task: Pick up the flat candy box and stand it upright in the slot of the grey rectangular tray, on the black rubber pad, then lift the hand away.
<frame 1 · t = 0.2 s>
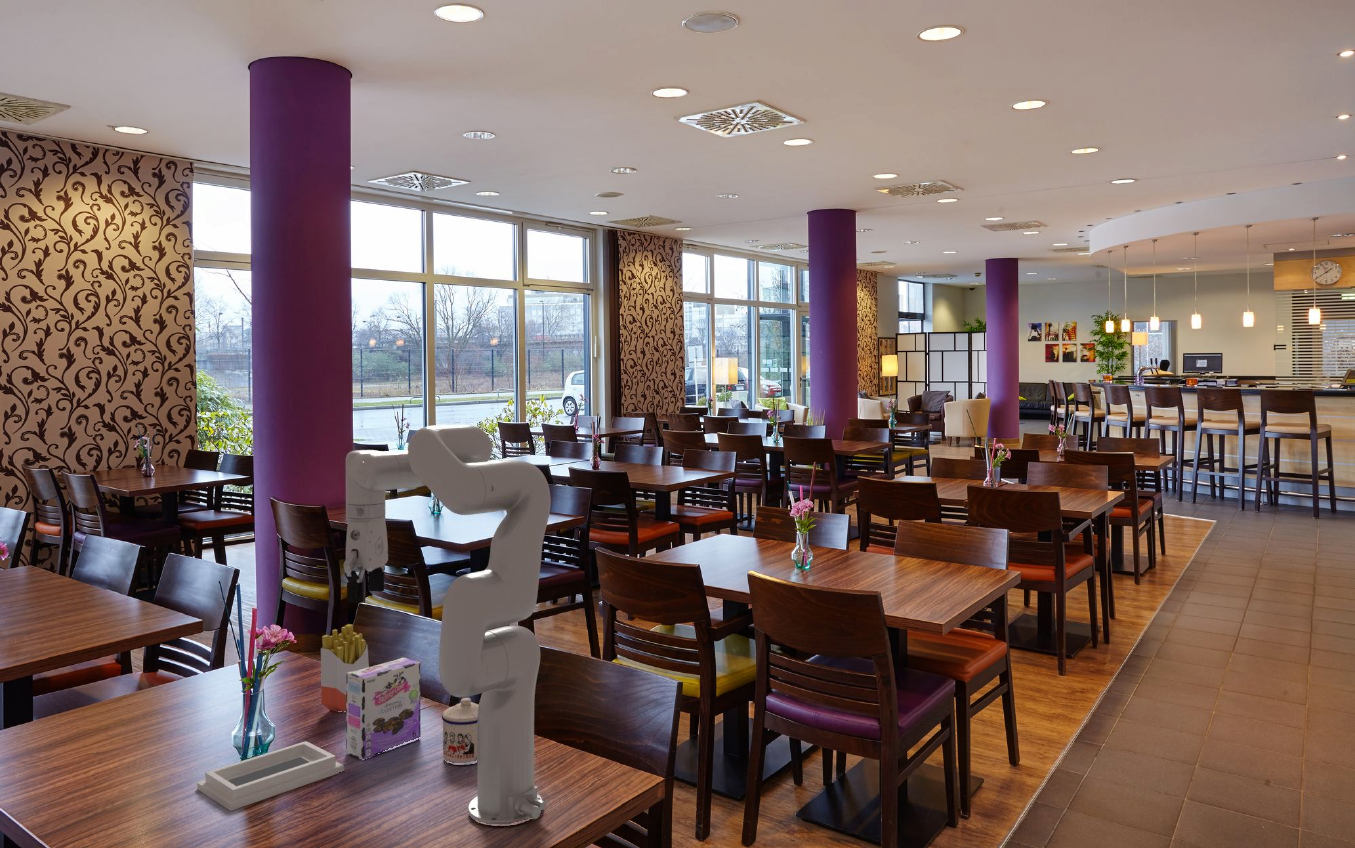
hand: (366, 596, 183), 30 cm above the table, tool pointing down, fingers open, 9 cm apart
teacup with lid: (472, 759, 178), on the table
french fries container: (346, 708, 205), on the table
candy box: (384, 748, 183), on the table
grey rectangular tray: (272, 779, 167), on the table
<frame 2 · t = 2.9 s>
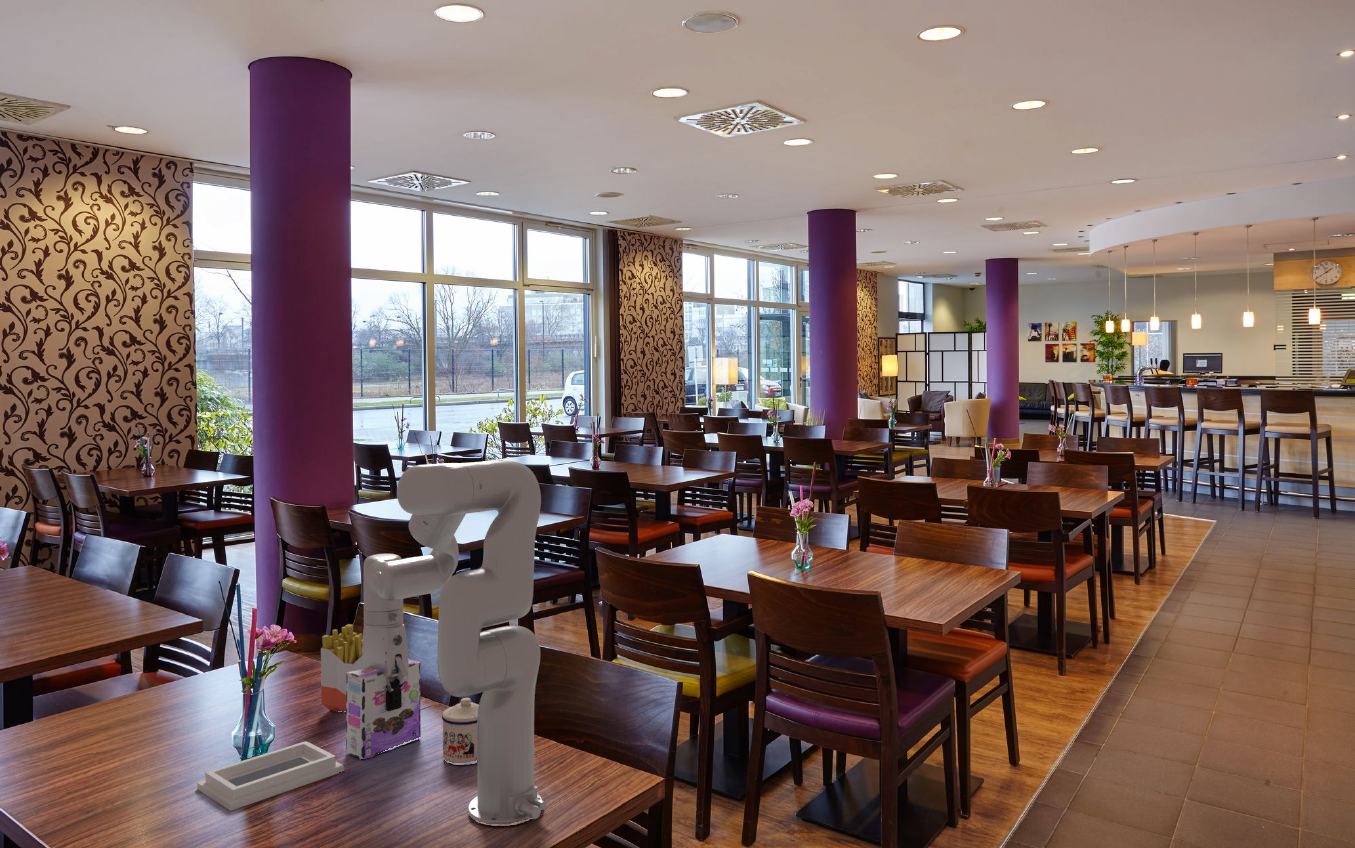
hand: (384, 704, 182), 9 cm above the table, tool pointing down, fingers closed on candy box, 6 cm apart
candy box: (384, 747, 183), on the table, touching gripper
everything else where it was.
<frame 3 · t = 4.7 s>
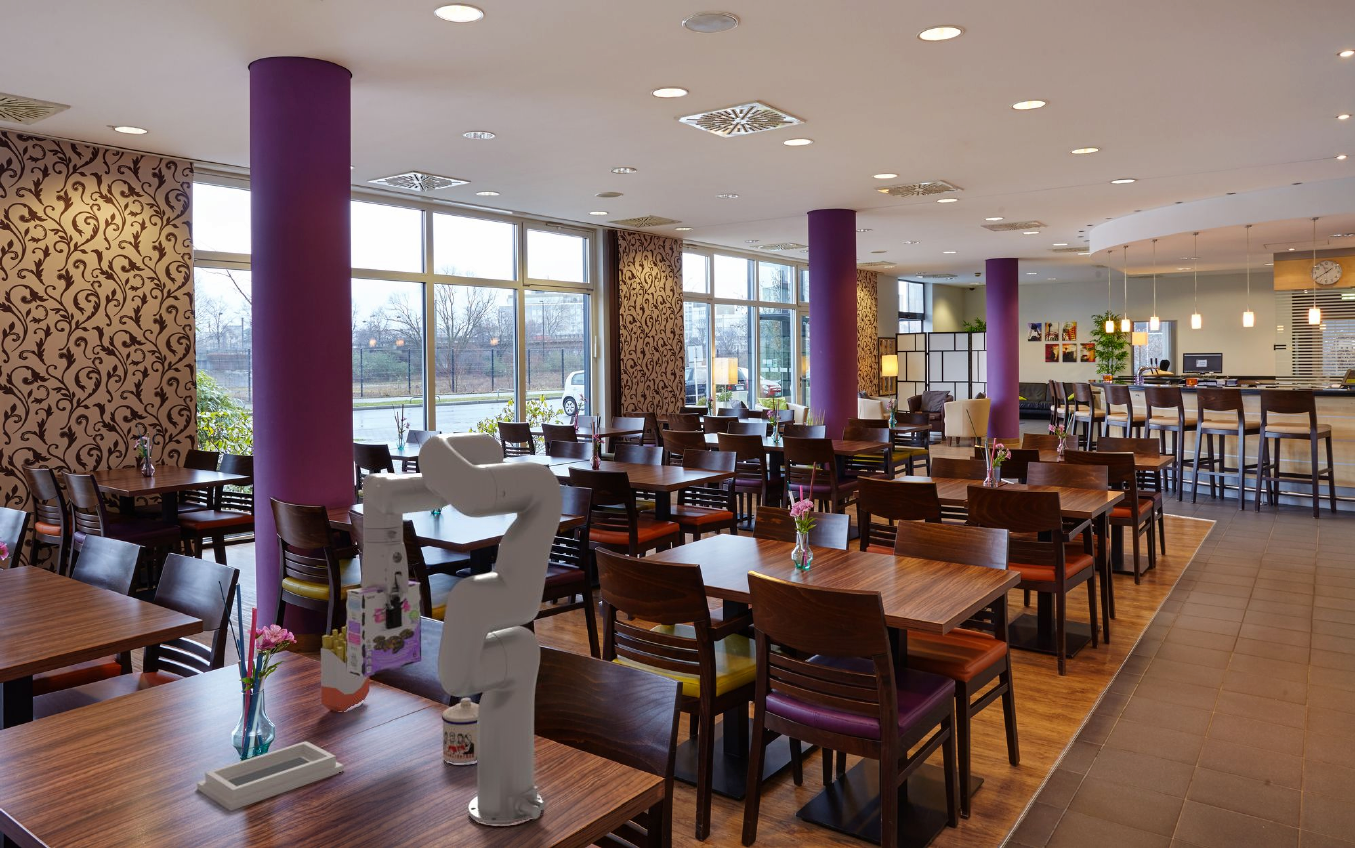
hand: (384, 624, 182), 25 cm above the table, tool pointing down, fingers closed on candy box, 6 cm apart
candy box: (384, 668, 182), point 16 cm above the table, touching gripper
everything else where it was.
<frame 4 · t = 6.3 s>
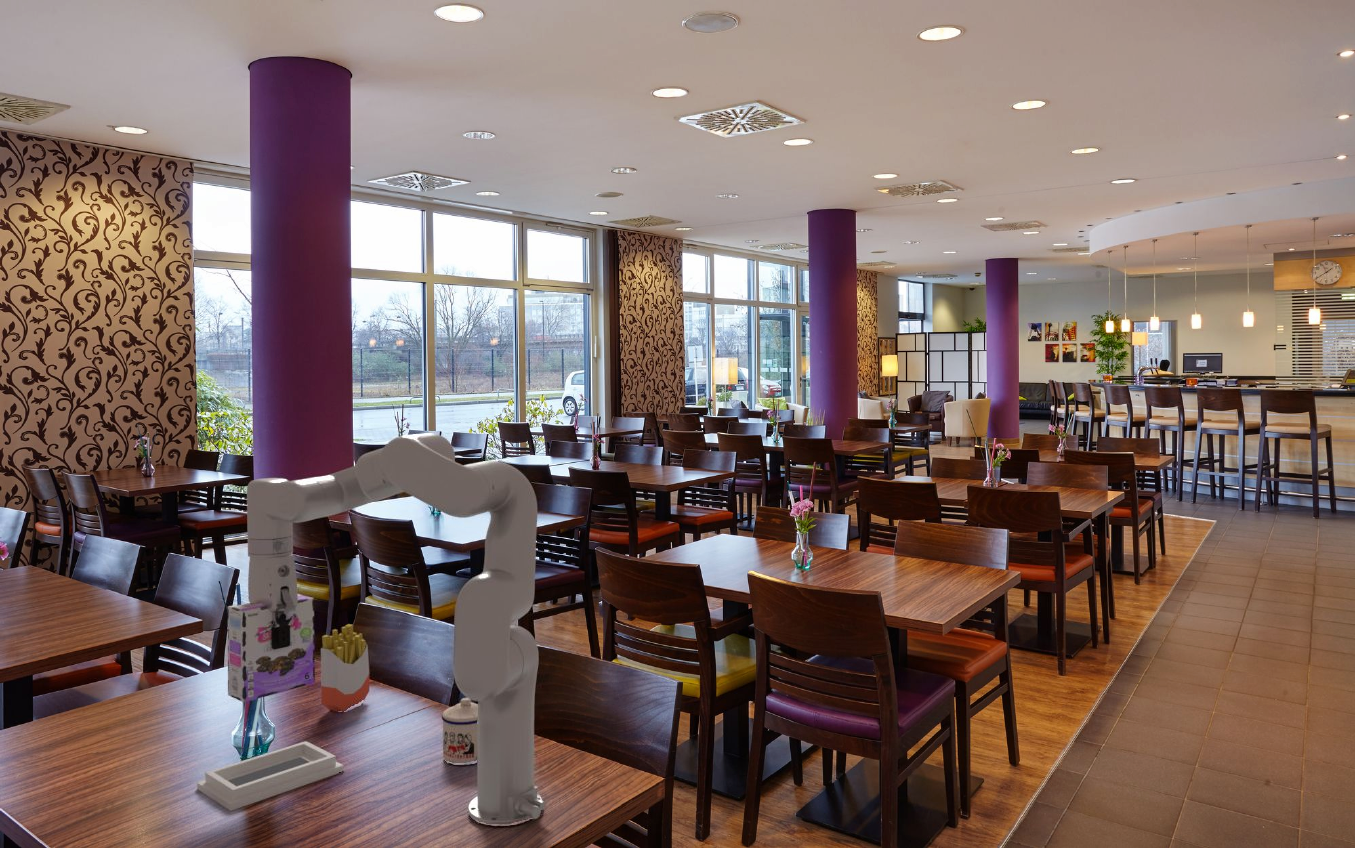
hand: (271, 643, 166), 25 cm above the table, tool pointing down, fingers closed on candy box, 6 cm apart
candy box: (272, 691, 167), point 17 cm above the table, touching gripper
everything else where it was.
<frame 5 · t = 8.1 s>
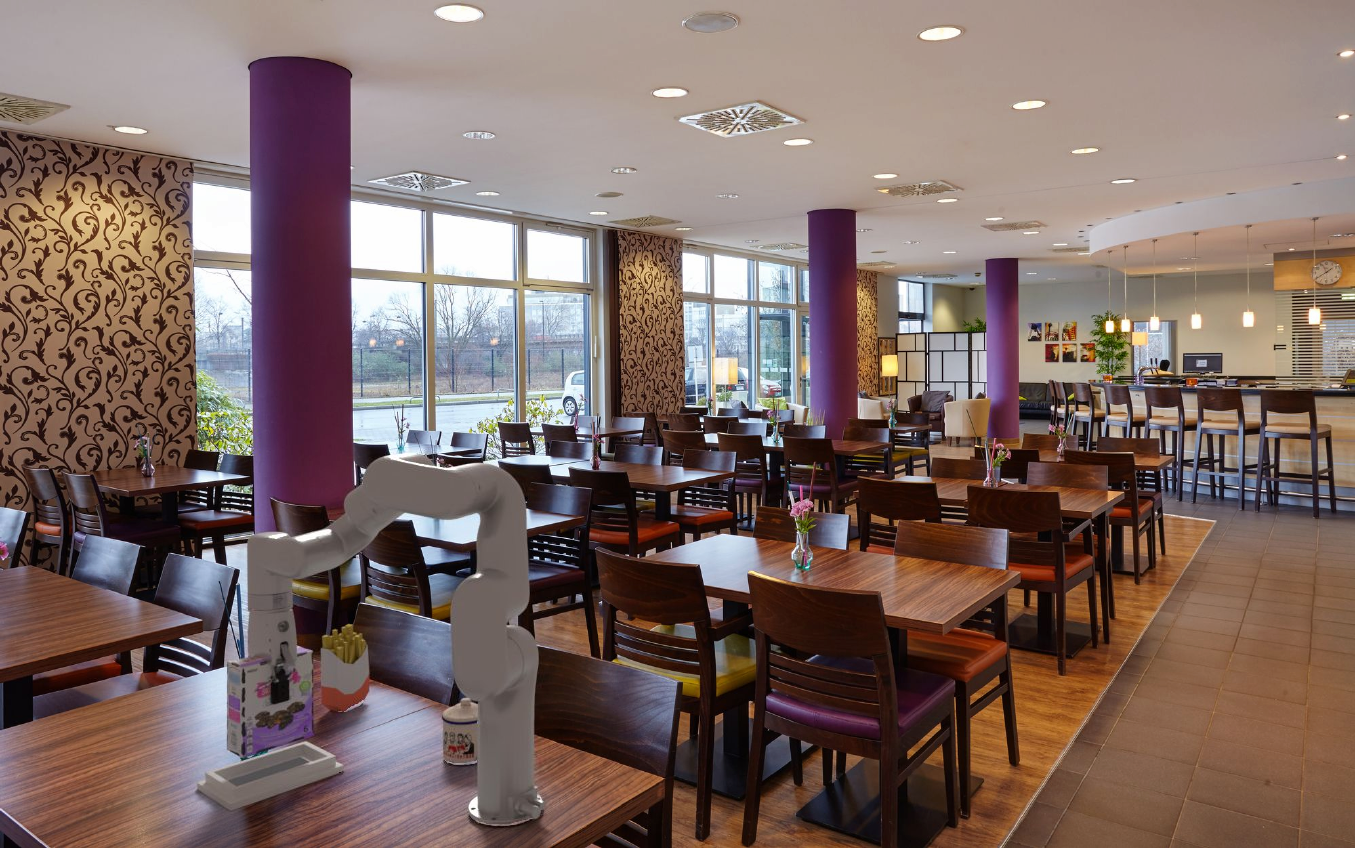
hand: (271, 697, 167), 15 cm above the table, tool pointing down, fingers closed on candy box, 6 cm apart
candy box: (271, 744, 167), point 7 cm above the table, touching gripper
everything else where it was.
when the fingers open (11 cm above the table, at t = 9.5 s): candy box drops 1 cm, resting on grey rectangular tray.
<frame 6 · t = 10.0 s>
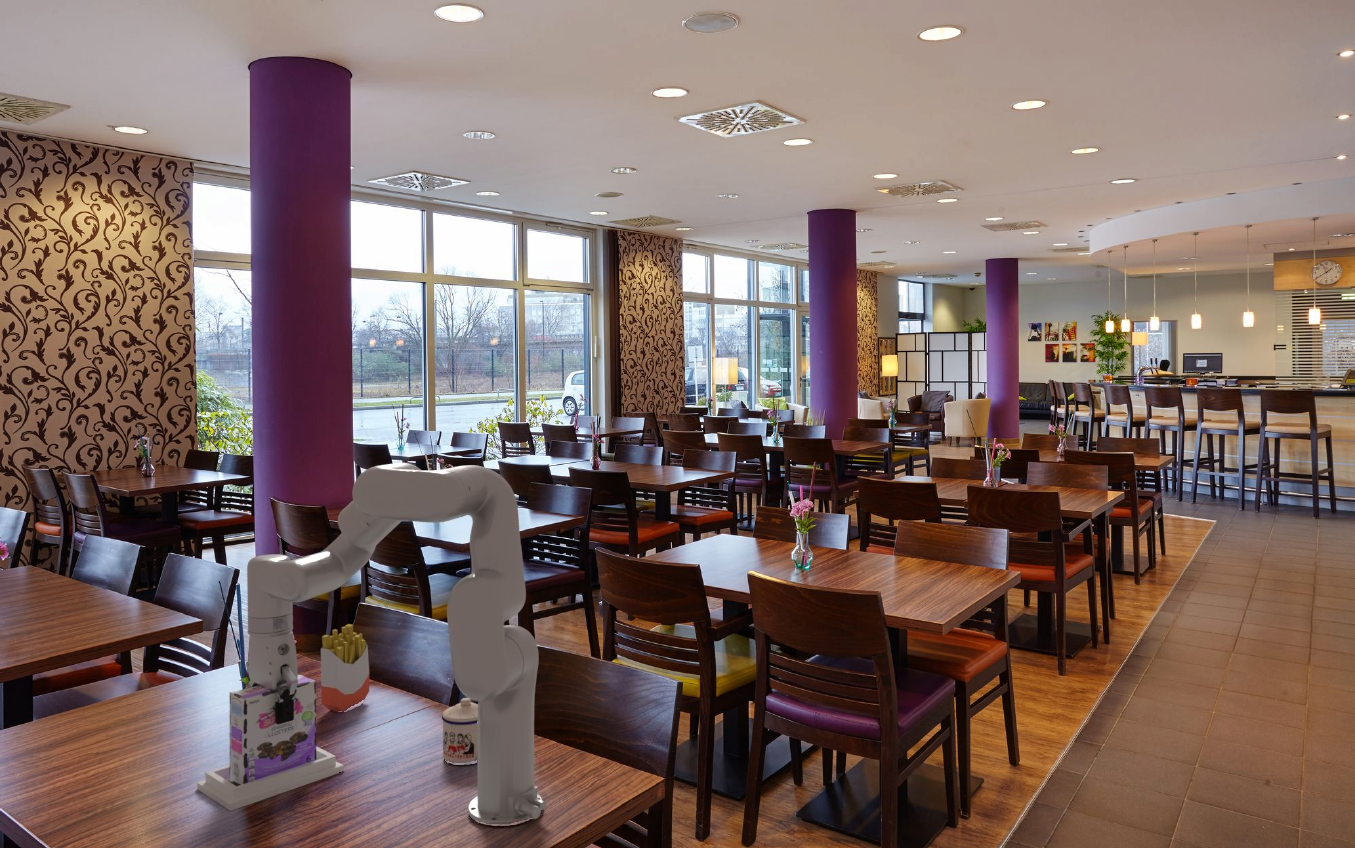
hand: (271, 715, 167), 12 cm above the table, tool pointing down, fingers open, 9 cm apart
candy box: (274, 774, 167), point 1 cm above the table, touching grey rectangular tray
everything else where it was.
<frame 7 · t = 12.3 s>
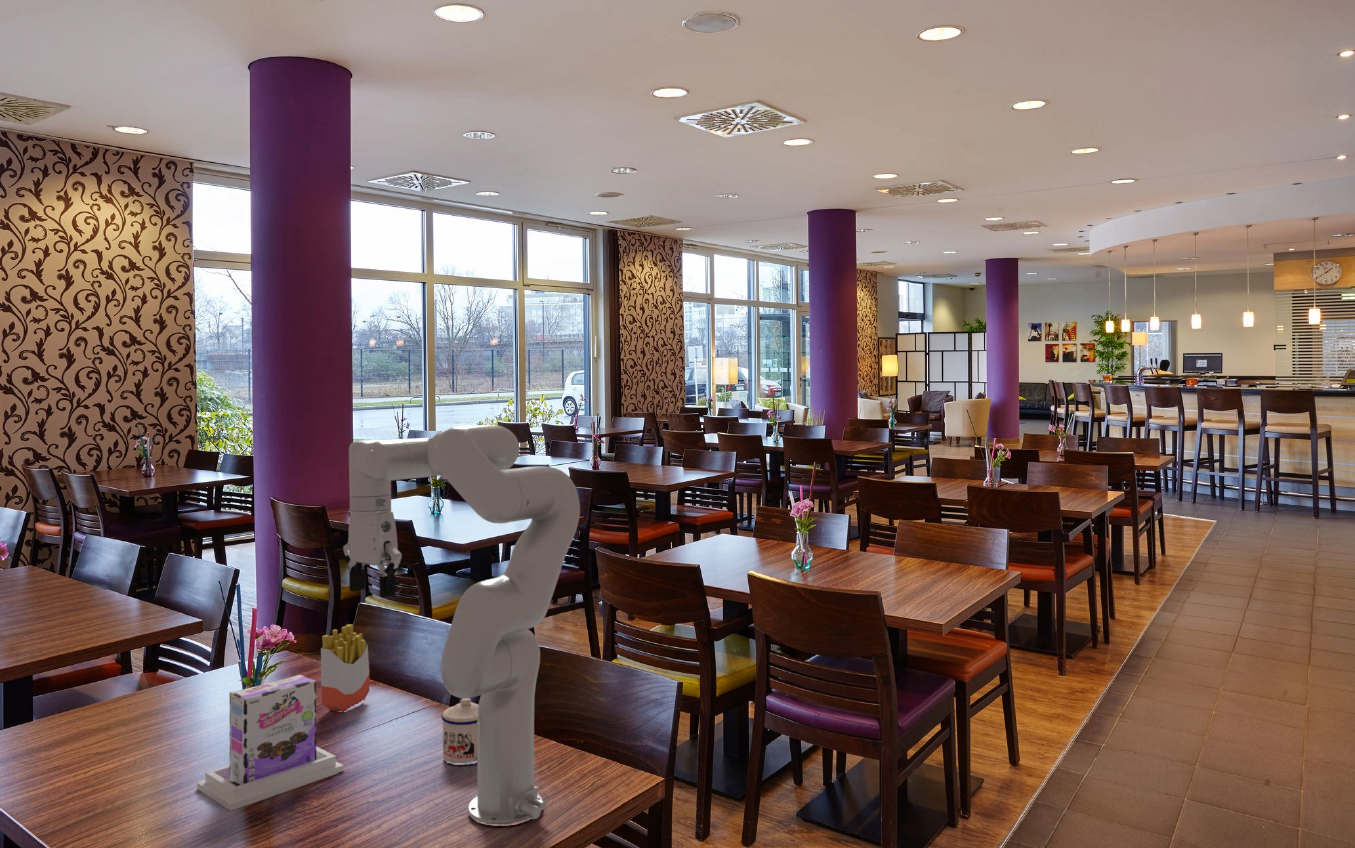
hand: (372, 593, 175), 33 cm above the table, tool pointing down, fingers open, 9 cm apart
nothing on the table moved.
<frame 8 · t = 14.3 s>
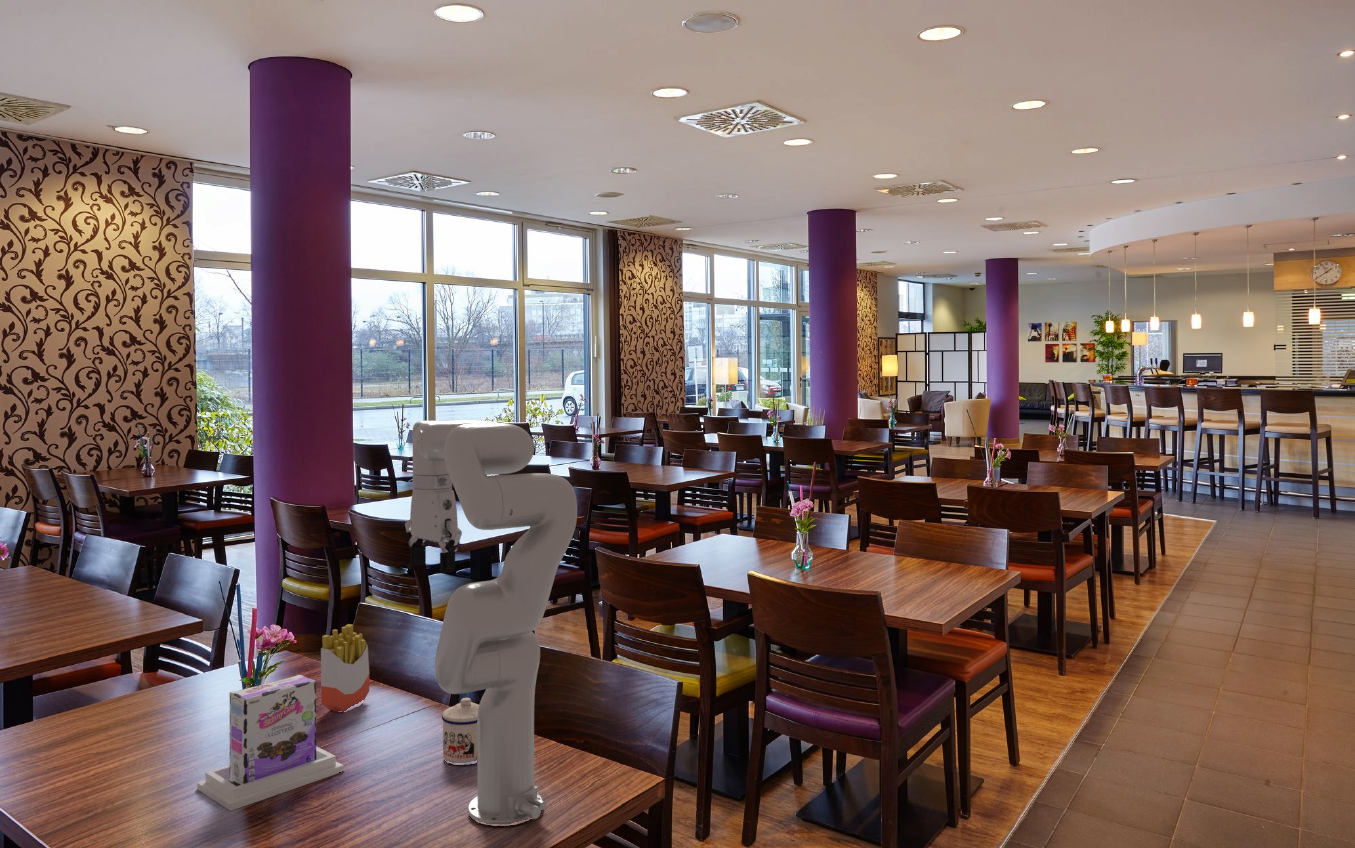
hand: (432, 568, 181), 36 cm above the table, tool pointing down, fingers open, 9 cm apart
nothing on the table moved.
at the end: candy box 0.6 cm off-centre on the grey rectangular tray, point 1.1 cm above the grey rectangular tray's base; candy box tilted 0°; the gripper is holding nothing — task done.
